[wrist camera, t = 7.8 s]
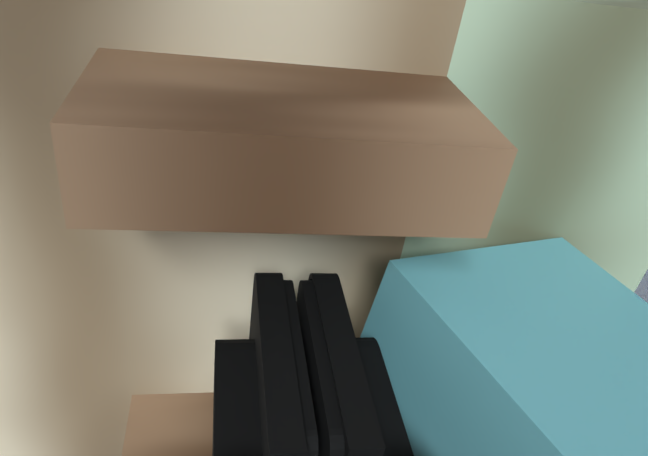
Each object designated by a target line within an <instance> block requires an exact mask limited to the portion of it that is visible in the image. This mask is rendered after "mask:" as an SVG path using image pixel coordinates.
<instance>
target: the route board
mask: <svg viewBox="0 0 648 456" xmlns="http://www.w3.org/2000/svg"><path fill="white" fill-rule="evenodd" d="M560 237H562V238H564V239H565V240H566V241H568V242H569V243H570V244H571V245H573V246H574V247H575V248H577V249H578V250H579V251H581V252H582V253H583V254H584V255H586V256H587V257H588V258H590V259H591V260H592V261H594V262H595V263H596V264H597V265H599V266H600V267H601V268H603V269H604V270H605V271H607V272H608V273H609V274H610V275H612V276H613V277H614V278H616V279H617V280H618V281H620V282H621V283H622V284H623V285H625V286H626V287H627V288H629V289H630V290H631V291H633V292H635V290H636V288H637V286H638V285H639V283H640V281H641V279H642V278H643V276H644V274H645V272H646V271H647V269H648V0H0V456H212V448H213V396H214V359H215V340H225V339H249V333H250V320H251V308H252V295H253V282H254V274H255V273H282V274H283V279H284V280H292V281H293V284H294V290H295V296H296V301H297V293H298V286H299V282H300V280H308V279H309V275H310V274H311V273H337V274H338V276H339V278H340V282H341V286H342V289H343V293H344V297H345V300H346V304H347V308H348V311H349V315H350V319H351V322H352V326H353V330H354V333H355V337H356V338H360V336H361V333H362V331H363V328H364V326H365V323H366V320H367V318H368V315H369V313H370V310H371V307H372V305H373V302H374V300H375V297H376V294H377V292H378V289H379V287H380V284H381V281H382V279H383V276H384V274H385V271H386V268H387V266H388V263H389V260H395V259H402V258H410V257H417V256H425V255H432V254H440V253H447V252H455V251H462V250H470V249H477V248H485V247H492V246H500V245H507V244H515V243H522V242H530V241H537V240H545V239H552V238H560Z"/></svg>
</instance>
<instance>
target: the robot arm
mask: <svg viewBox="0 0 648 456" xmlns="http://www.w3.org/2000/svg"><path fill="white" fill-rule="evenodd" d="M212 456H414V454H413V451H412V448H411V445H410V442H409V438H408V435H407V432H406V429H405V426H404V423H403V419H402V416H401V413H400V410H399V407H398V404H397V400H396V397H395V394H394V391H393V388H392V385H391V381H390V378H389V375H388V372H387V369H386V366H385V362H384V359H383V356H382V353H381V350H380V347H379V344H378V342H377V340H376V339H375V338H374V337H364V338H356V337H355V333H354V330H353V326H352V322H351V319H350V315H349V311H348V308H347V304H346V300H345V297H344V293H343V289H342V286H341V282H340V278H339V276H338V274H337V273H311V274H310V275H309V279H308V280H300V282H299V286H298V293H297V301H296V296H295V290H294V284H293V281H292V280H284V279H283V274H282V273H255V274H254V282H253V295H252V308H251V320H250V333H249V339H225V340H215V359H214V396H213V448H212Z"/></svg>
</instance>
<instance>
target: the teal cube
mask: <svg viewBox="0 0 648 456" xmlns="http://www.w3.org/2000/svg"><path fill="white" fill-rule="evenodd" d="M364 337H374V338H375V339H376V340H377V342H378V344H379V347H380V350H381V353H382V356H383V359H384V362H385V366H386V369H387V372H388V375H389V378H390V381H391V385H392V388H393V391H394V394H395V397H396V400H397V404H398V407H399V410H400V413H401V416H402V419H403V423H404V426H405V429H406V432H407V435H408V438H409V442H410V445H411V448H412V451H413V454H414V456H648V303H647V302H646V301H644V300H643V299H642V298H640V297H639V296H638V295H637V294H635V293H634V292H633V291H631V290H630V289H629V288H627V287H626V286H625V285H623V284H622V283H621V282H620V281H618V280H617V279H616V278H614V277H613V276H612V275H610V274H609V273H608V272H607V271H605V270H604V269H603V268H601V267H600V266H599V265H597V264H596V263H595V262H594V261H592V260H591V259H590V258H588V257H587V256H586V255H584V254H583V253H582V252H581V251H579V250H578V249H577V248H575V247H574V246H573V245H571V244H570V243H569V242H568V241H566V240H565V239H564V238H562V237H560V238H552V239H545V240H537V241H530V242H522V243H515V244H507V245H500V246H492V247H485V248H477V249H470V250H462V251H455V252H447V253H440V254H432V255H425V256H417V257H410V258H402V259H395V260H389V263H388V266H387V268H386V271H385V274H384V276H383V279H382V281H381V284H380V287H379V289H378V292H377V294H376V297H375V300H374V302H373V305H372V307H371V310H370V313H369V315H368V318H367V320H366V323H365V326H364V328H363V331H362V333H361V336H360V338H364Z"/></svg>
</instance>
